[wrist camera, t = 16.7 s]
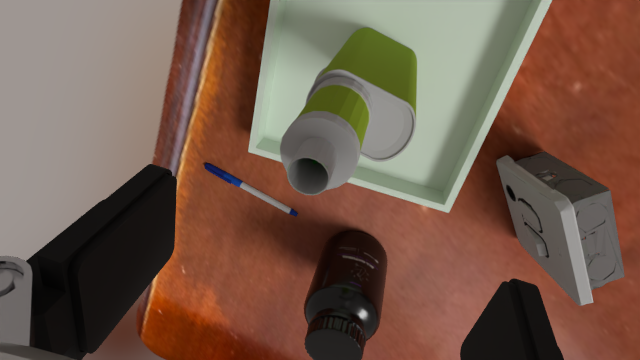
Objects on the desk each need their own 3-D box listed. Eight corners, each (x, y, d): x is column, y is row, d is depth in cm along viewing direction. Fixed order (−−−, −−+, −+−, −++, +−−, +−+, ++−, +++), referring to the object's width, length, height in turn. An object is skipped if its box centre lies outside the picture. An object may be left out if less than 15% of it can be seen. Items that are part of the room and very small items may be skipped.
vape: (355, 19, 31) (276, 108, 14) (425, 56, 31) (432, 187, 14) (334, 63, 33) (242, 189, 16) (400, 98, 33) (380, 258, 16)
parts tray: (300, -119, 28) (288, -126, 25) (562, -52, 27) (577, -52, 24) (259, 138, 38) (248, 151, 36) (446, 194, 37) (448, 213, 35)
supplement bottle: (377, 222, 40) (362, 316, 30) (395, 275, 43) (387, 377, 33) (313, 234, 43) (280, 324, 32) (334, 283, 45) (309, 380, 35)
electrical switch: (493, 154, 35) (529, 213, 26) (558, 134, 33) (619, 188, 25) (517, 241, 38) (556, 315, 30) (577, 225, 37) (635, 299, 29)
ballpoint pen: (205, 167, 42) (200, 171, 41) (207, 160, 41) (203, 164, 40) (296, 214, 42) (294, 220, 41) (300, 208, 42) (298, 214, 41)
